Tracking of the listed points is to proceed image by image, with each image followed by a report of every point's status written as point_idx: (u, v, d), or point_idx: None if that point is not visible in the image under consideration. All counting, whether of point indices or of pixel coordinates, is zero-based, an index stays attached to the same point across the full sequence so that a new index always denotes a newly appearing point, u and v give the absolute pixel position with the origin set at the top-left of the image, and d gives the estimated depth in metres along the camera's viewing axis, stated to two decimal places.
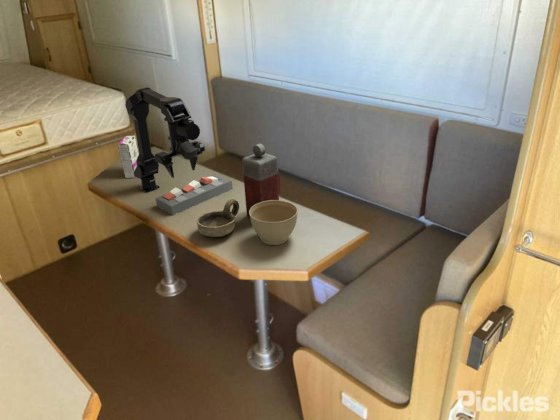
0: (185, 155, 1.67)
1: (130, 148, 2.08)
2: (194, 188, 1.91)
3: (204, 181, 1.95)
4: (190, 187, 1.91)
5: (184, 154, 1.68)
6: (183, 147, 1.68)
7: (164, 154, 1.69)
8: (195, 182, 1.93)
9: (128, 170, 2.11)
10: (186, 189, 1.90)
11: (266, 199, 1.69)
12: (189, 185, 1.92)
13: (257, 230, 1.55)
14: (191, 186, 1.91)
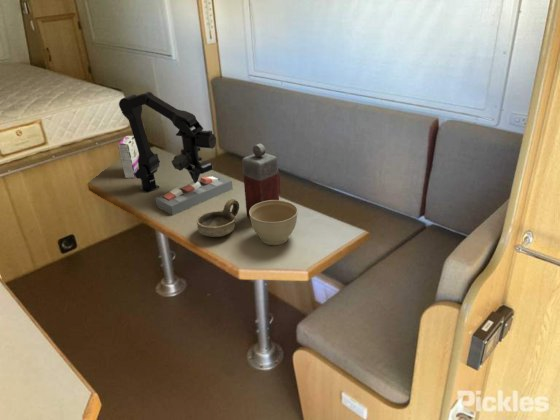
0: None
1: (130, 148, 2.08)
2: (194, 188, 1.91)
3: (204, 181, 1.95)
4: (190, 187, 1.91)
5: None
6: (177, 157, 1.85)
7: None
8: None
9: (128, 170, 2.11)
10: (186, 189, 1.90)
11: (266, 199, 1.69)
12: (189, 185, 1.92)
13: (257, 230, 1.55)
14: (191, 186, 1.91)
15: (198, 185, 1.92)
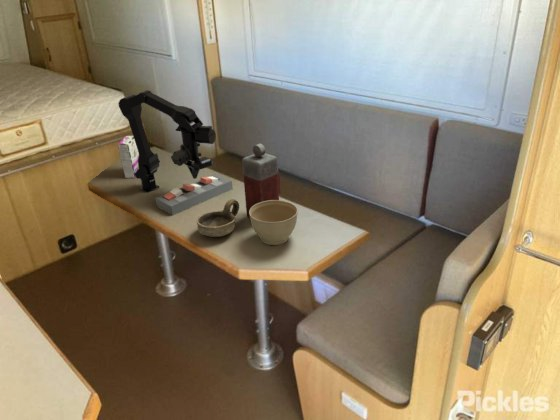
0: None
1: (130, 148, 2.08)
2: (194, 188, 1.91)
3: (204, 181, 1.95)
4: (191, 185, 1.91)
5: None
6: (177, 152, 1.84)
7: None
8: (197, 185, 1.94)
9: (128, 170, 2.11)
10: (187, 185, 1.90)
11: (266, 199, 1.69)
12: (190, 184, 1.92)
13: (257, 230, 1.55)
14: (192, 185, 1.91)
15: None
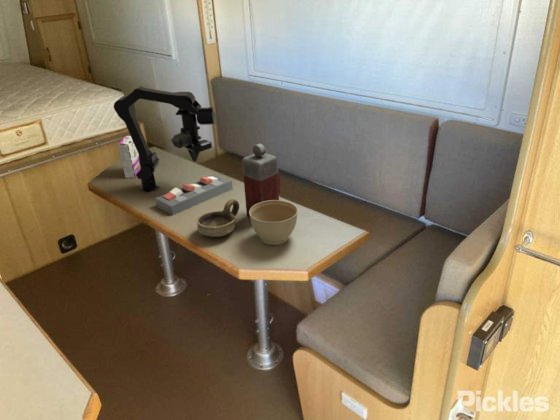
0: None
1: (130, 148, 2.08)
2: (194, 188, 1.91)
3: (204, 181, 1.95)
4: (191, 185, 1.91)
5: None
6: (177, 135, 1.87)
7: None
8: (197, 185, 1.94)
9: (128, 170, 2.11)
10: (187, 185, 1.90)
11: (266, 199, 1.69)
12: (190, 184, 1.92)
13: (257, 230, 1.55)
14: (192, 185, 1.91)
15: None
